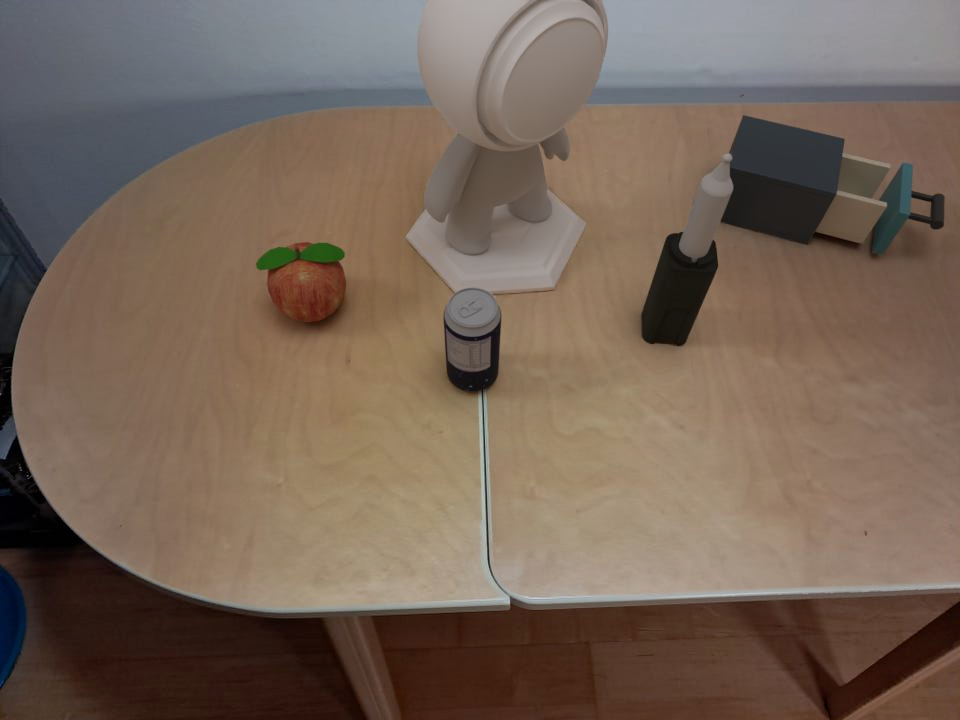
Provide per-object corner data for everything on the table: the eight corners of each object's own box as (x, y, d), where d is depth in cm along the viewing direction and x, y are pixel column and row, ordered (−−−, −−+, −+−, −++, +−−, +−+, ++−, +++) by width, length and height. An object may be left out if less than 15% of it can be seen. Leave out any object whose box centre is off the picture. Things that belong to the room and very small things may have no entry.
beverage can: (508, 380, 77) (513, 312, 67) (465, 405, 75) (464, 339, 65) (479, 345, 80) (480, 275, 70) (437, 368, 78) (431, 300, 68)
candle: (684, 311, 82) (755, 137, 62) (687, 346, 80) (762, 176, 59) (640, 308, 83) (696, 133, 62) (642, 343, 80) (701, 172, 59)
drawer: (924, 214, 90) (954, 174, 85) (922, 265, 86) (953, 226, 80) (796, 183, 94) (817, 141, 88) (787, 230, 89) (808, 189, 83)
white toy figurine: (486, 329, 81) (493, 47, 52) (382, 213, 91) (339, -76, 62) (615, 254, 87) (686, -33, 58) (505, 154, 98) (518, -132, 69)
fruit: (350, 335, 80) (336, 278, 72) (267, 336, 80) (242, 279, 72) (356, 278, 85) (344, 218, 77) (277, 278, 85) (256, 218, 77)
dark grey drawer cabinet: (816, 191, 94) (845, 138, 87) (807, 244, 89) (836, 193, 81) (723, 167, 97) (743, 114, 90) (708, 218, 91) (728, 166, 84)
